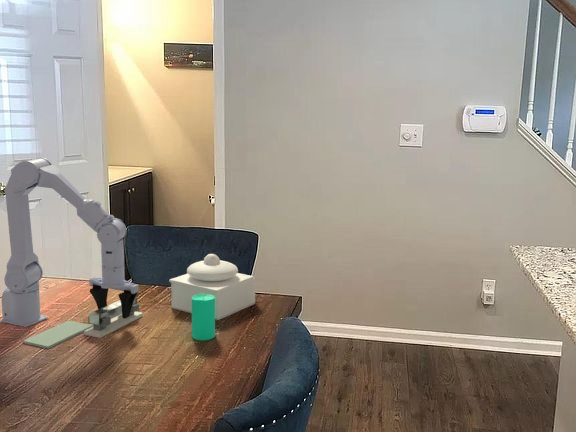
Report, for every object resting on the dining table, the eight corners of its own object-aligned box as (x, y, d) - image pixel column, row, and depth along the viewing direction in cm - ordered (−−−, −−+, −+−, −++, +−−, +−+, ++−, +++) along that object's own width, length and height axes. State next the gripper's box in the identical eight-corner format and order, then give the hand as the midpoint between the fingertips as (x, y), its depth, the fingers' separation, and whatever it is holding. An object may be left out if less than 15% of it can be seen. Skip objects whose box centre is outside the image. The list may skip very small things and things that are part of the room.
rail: (89, 322, 162) (89, 313, 162) (128, 304, 177) (128, 295, 176) (99, 324, 161) (98, 315, 160) (137, 306, 175) (137, 297, 175)
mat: (22, 343, 156) (22, 340, 156) (68, 322, 170) (68, 320, 170) (48, 348, 153) (48, 346, 153) (92, 327, 167) (92, 325, 167)
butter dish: (254, 304, 189) (255, 252, 186) (217, 321, 174) (217, 265, 172) (209, 293, 199) (209, 244, 196) (169, 308, 184) (169, 255, 181)
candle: (210, 341, 160) (210, 295, 158) (188, 339, 161) (188, 293, 159) (218, 332, 166) (218, 288, 163) (196, 330, 167) (196, 286, 164)
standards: (83, 334, 162) (83, 319, 161) (127, 313, 178) (127, 299, 178) (100, 338, 160) (99, 322, 159) (143, 316, 176) (142, 301, 176)
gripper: (80, 265, 165) (82, 315, 168) (126, 273, 160) (127, 324, 162) (98, 259, 172) (100, 307, 174) (142, 266, 166) (143, 315, 169)
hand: (114, 315), depth 169 cm, fingers open, 7 cm apart
